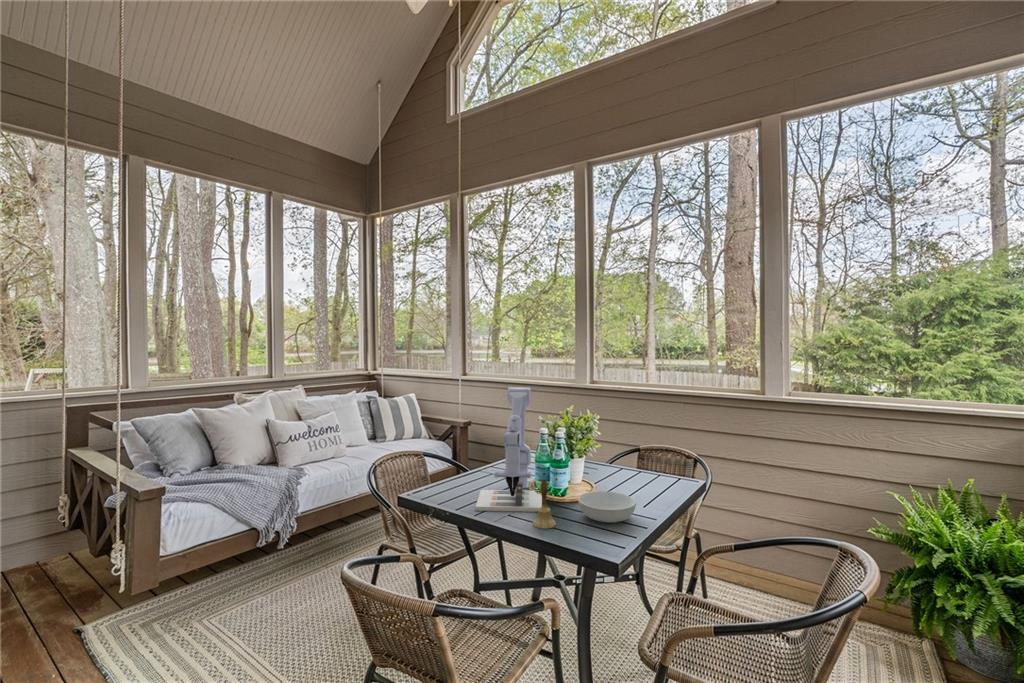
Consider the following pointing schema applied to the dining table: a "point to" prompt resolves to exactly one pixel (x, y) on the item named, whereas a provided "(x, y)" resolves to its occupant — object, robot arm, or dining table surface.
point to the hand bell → (544, 510)
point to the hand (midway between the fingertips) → (512, 495)
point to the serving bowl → (606, 506)
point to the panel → (508, 500)
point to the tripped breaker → (519, 490)
